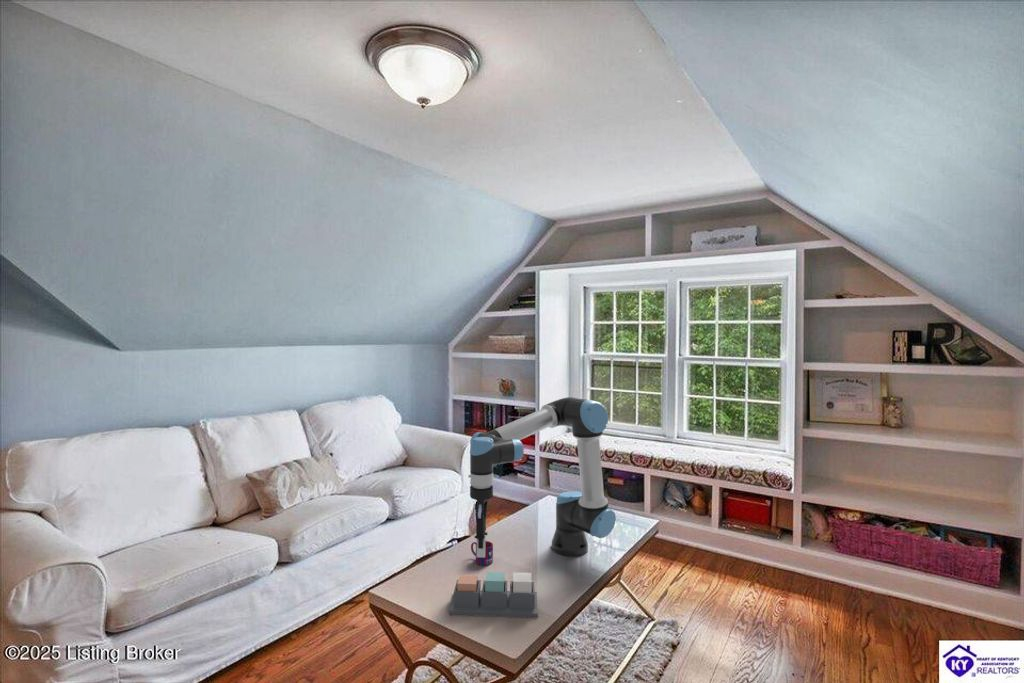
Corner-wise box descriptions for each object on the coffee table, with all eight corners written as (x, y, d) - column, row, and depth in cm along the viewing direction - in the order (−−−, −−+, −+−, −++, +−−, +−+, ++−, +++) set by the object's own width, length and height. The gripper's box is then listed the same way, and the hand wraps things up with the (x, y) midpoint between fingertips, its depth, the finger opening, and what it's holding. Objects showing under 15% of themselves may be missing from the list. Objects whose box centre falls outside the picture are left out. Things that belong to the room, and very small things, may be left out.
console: (536, 595, 164) (536, 577, 164) (537, 617, 151) (538, 598, 151) (454, 593, 165) (455, 575, 165) (449, 615, 152) (449, 596, 152)
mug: (483, 567, 183) (484, 549, 183) (466, 559, 190) (466, 541, 190) (496, 561, 188) (496, 544, 188) (479, 553, 195) (479, 537, 195)
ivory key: (531, 588, 161) (531, 572, 161) (531, 598, 155) (531, 582, 155) (513, 587, 161) (513, 572, 161) (512, 597, 155) (513, 581, 155)
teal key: (504, 587, 161) (504, 572, 161) (503, 597, 155) (503, 581, 155) (486, 587, 161) (486, 571, 161) (485, 596, 155) (485, 580, 155)
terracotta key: (477, 590, 161) (477, 574, 161) (475, 600, 155) (475, 584, 155) (459, 589, 161) (459, 574, 161) (457, 599, 155) (457, 583, 155)
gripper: (472, 478, 164) (472, 547, 165) (467, 491, 151) (467, 565, 152) (494, 479, 164) (493, 547, 165) (491, 491, 151) (490, 566, 152)
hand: (480, 556), depth 158 cm, fingers closed
